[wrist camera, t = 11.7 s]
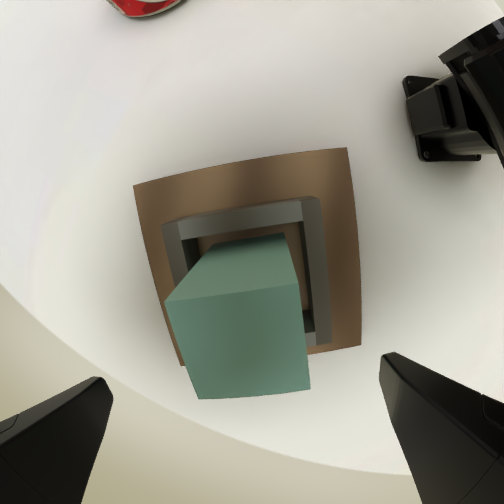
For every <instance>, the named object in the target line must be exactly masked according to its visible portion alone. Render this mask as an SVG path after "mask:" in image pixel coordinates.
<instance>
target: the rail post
mask: <svg viewBox="0 0 504 504" xmlns="http://www.w3.org/2000/svg"><path fill="white" fill-rule="evenodd" d="M164 304H165V307H166V310H167V313H168V317H169V320H170V323H171V326H172V329H173V332H174V335H175V338H176V341H177V344H178V347H179V349H180V352H181V355H182V358H183V360H184V363H185V366H186V369H187V371H188V374H189V376H190V379H191V382H192V384H193V387H194V389H195V392H196V394H197V397H198V399H222V398H239V397H252V396H263V395H272V394H281V393H289V392H296V391H302V390H309V389H310V378H309V368H308V358H307V349H306V340H305V331H304V323H303V315H302V307H301V299H300V291H299V284H298V280H297V276H296V273H295V269H294V266H293V262H292V259H291V255H290V252H289V248H288V245H287V241H286V238H285V235H284V232H281V233H275V234H269V235H263V236H257V237H251V238H245V239H239V240H233V241H227V242H221V243H215V244H213V245H212V246H211V247H210V248H209V249H208V250H207V252H206V253H205V254H204V255H203V256H202V257H201V259H200V260H199V261H198V262H197V263H196V264H195V266H194V267H193V268H192V269H191V270H190V271H189V273H188V274H187V275H186V276H185V277H184V278H183V280H182V281H181V282H180V283H179V284H178V286H177V287H176V288H175V289H174V290H173V292H172V293H171V294H170V295H169V296H168V298H167V299H166V300H165V301H164Z"/></svg>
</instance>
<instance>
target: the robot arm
mask: <svg viewBox="0 0 504 504" xmlns="http://www.w3.org/2000/svg"><path fill="white" fill-rule="evenodd" d="M438 57H439V58H440V60H441V61H442V62H443V64H446V65H447V67H448V68H449V69H450V71H451V72H452V73H451V74H449V75H447V76H445V77H443V78H441V79H434V78H427V77H418V76H406V77H405V78H404V79H403V84H404V88H405V92H406V95H407V105H408V109H409V113H410V118H411V123H412V128H413V132H414V133H415V137H416V142H417V149H418V155H419V158H420V160H421V161H423V162H438V161H480V160H481V154H498V156H499V159H500V161H501V163H502V166H503V168H504V17H502V18H500V19H498V20H496V21H494V22H492V23H491V24H489V25H487V26H485V27H483V28H482V29H480V30H478V31H476V32H475V33H473V34H471V35H470V36H468V37H467V38H465V39H463V40H462V41H460V42H459V43H457V44H456V45H454V46H453V47H451V48H450V49H448V50H447V51H445V52H444V53H443V54H441V55H440V56H438ZM408 80H409V81H410V82H411V83H412V85H411V84H409V82H408ZM424 152H425V153H426V154H427V157H426V158H425V157H424ZM475 154H476V155H477V156H476V155H475ZM379 381H380V385H381V389H382V392H383V395H384V399H385V402H386V406H387V409H388V413H389V416H390V420H391V423H392V425H393V428H394V431H395V433H396V435H397V438H398V440H399V443H400V445H401V448H402V450H403V453H404V455H405V458H406V460H407V463H408V465H409V468H410V471H411V473H412V476H413V479H414V481H415V484H416V487H417V490H418V493H419V495H420V498H421V501H422V504H504V403H502V402H500V401H497V400H495V399H493V398H490V397H488V396H486V395H484V394H482V395H481V393H479V392H477V391H475V390H473V389H471V388H468V387H466V386H464V385H462V384H460V383H458V382H456V381H454V380H452V379H449V378H447V377H445V376H443V375H441V374H439V373H437V372H435V371H433V370H431V369H429V368H427V367H424V366H422V365H420V364H418V363H416V362H414V361H412V360H410V359H408V358H406V357H404V356H402V355H400V354H398V353H396V352H391V353H387V354H384V355H382V357H381V361H380V372H379ZM112 403H113V395H112V393H111V391H110V389H109V387H108V385H107V383H106V381H105V380H104V379H103V378H102V377H95V376H93V377H90V378H89V379H87V380H85V381H83V382H81V383H79V384H77V385H75V386H73V387H71V388H69V389H67V390H66V391H63V392H62V393H60V394H58V395H55V396H54V397H52V398H50V399H47V400H45V401H43V402H42V403H39V404H38V405H36V406H33V407H31V408H29V409H27V410H25V411H23V412H21V413H20V414H17V415H14V416H12V417H10V418H8V419H6V420H3V421H1V422H0V504H81V502H82V499H83V496H84V492H85V489H86V486H87V483H88V480H89V477H90V474H91V470H92V468H93V464H94V462H95V459H96V456H97V453H98V450H99V448H100V445H101V442H102V439H103V436H104V433H105V430H106V426H107V422H108V418H109V415H110V411H111V407H112Z"/></svg>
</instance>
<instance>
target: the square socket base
mask: <svg viewBox="0 0 504 504" xmlns="http://www.w3.org/2000/svg"><path fill="white" fill-rule="evenodd" d="M133 189H134V195H135V200H136V206H137V211H138V216H139V220H140V225H141V230H142V234H143V239H144V243H145V247H146V252H147V256H148V260H149V264H150V268H151V272H152V275H153V279H154V283H155V287H156V290H157V294H158V297H159V301H160V304H161V307H162V311H163V314H164V317H165V320H166V324H167V327H168V330H169V333H170V336H171V339H172V342H173V345H174V348H175V351H176V354H177V357H178V359H179V362H180V365H181V366H185V363H184V360H183V358H182V355H181V352H180V349H179V347H178V344H177V341H176V338H175V335H174V332H173V329H172V326H171V323H170V320H169V317H168V313H167V310H166V307H165V304H164V301H165V300H166V299H167V298H168V296H169V295H170V294H171V293H172V292H173V290H174V289H175V288H176V287H177V286H178V284H179V283H180V282H181V281H182V280H183V278H184V277H185V276H186V275H187V274H188V273H189V271H190V270H191V269H192V268H193V267H194V266H195V264H196V263H197V262H198V261H199V260H200V259H201V257H202V256H203V255H204V254H205V253H206V252H207V250H208V249H209V248H210V247H211V246H212V245H213V244H215V243H221V242H227V241H233V240H239V239H245V238H251V237H257V236H263V235H269V234H275V233H281V232H284V235H285V238H286V241H287V245H288V248H289V252H290V255H291V259H292V262H293V266H294V269H295V273H296V276H297V280H298V284H299V291H300V299H301V307H302V315H303V323H304V331H305V340H306V349H307V355H309V354H315V353H321V352H327V351H333V350H338V349H343V348H349V347H354V346H358V345H361V275H360V257H359V242H358V230H357V220H356V210H355V201H354V193H353V185H352V178H351V171H350V165H349V158H348V152H347V147H345V148H334V149H324V150H315V151H306V152H298V153H290V154H283V155H276V156H269V157H263V158H257V159H251V160H245V161H239V162H234V163H228V164H223V165H218V166H213V167H208V168H203V169H199V170H194V171H190V172H185V173H181V174H176V175H172V176H168V177H164V178H160V179H156V180H152V181H148V182H145V183H141V184H137V185H134V186H133Z"/></svg>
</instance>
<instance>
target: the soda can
mask: <svg viewBox="0 0 504 504" xmlns="http://www.w3.org/2000/svg"><path fill="white" fill-rule="evenodd" d="M107 1H108V2H109V3H110V4H111V5H112V6H113V7H114V8H115V9H116V10H118V11H119V12H120V13H121V14H123V15H125V16H129V17H143V16H150V15H154V14H157V13H160V12H163V11H165V10H167V9H169V8H171V7H173V6H174V5H176V4H177V3H179V2H180V1H181V0H107Z"/></svg>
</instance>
